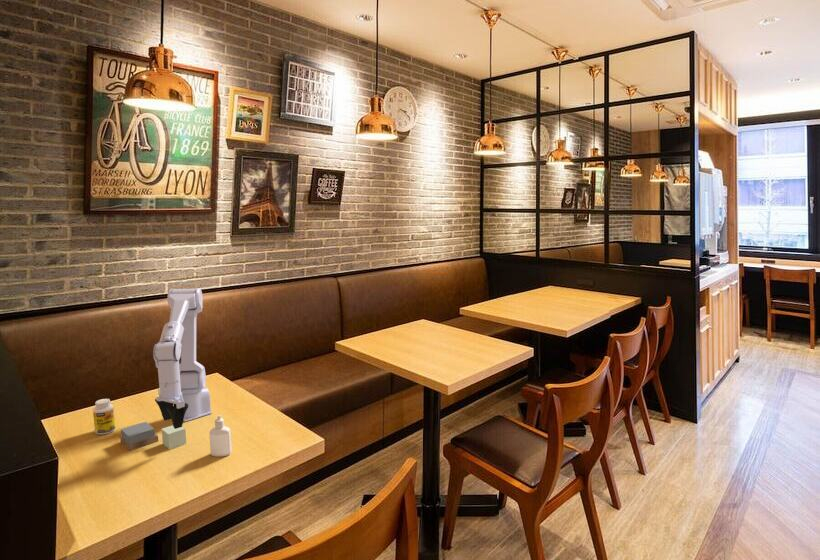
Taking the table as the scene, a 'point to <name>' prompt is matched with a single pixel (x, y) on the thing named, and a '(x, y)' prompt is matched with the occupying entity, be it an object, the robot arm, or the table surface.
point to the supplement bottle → (103, 417)
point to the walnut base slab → (139, 443)
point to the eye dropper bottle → (220, 439)
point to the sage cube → (173, 437)
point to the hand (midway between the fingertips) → (172, 423)
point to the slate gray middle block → (137, 432)
